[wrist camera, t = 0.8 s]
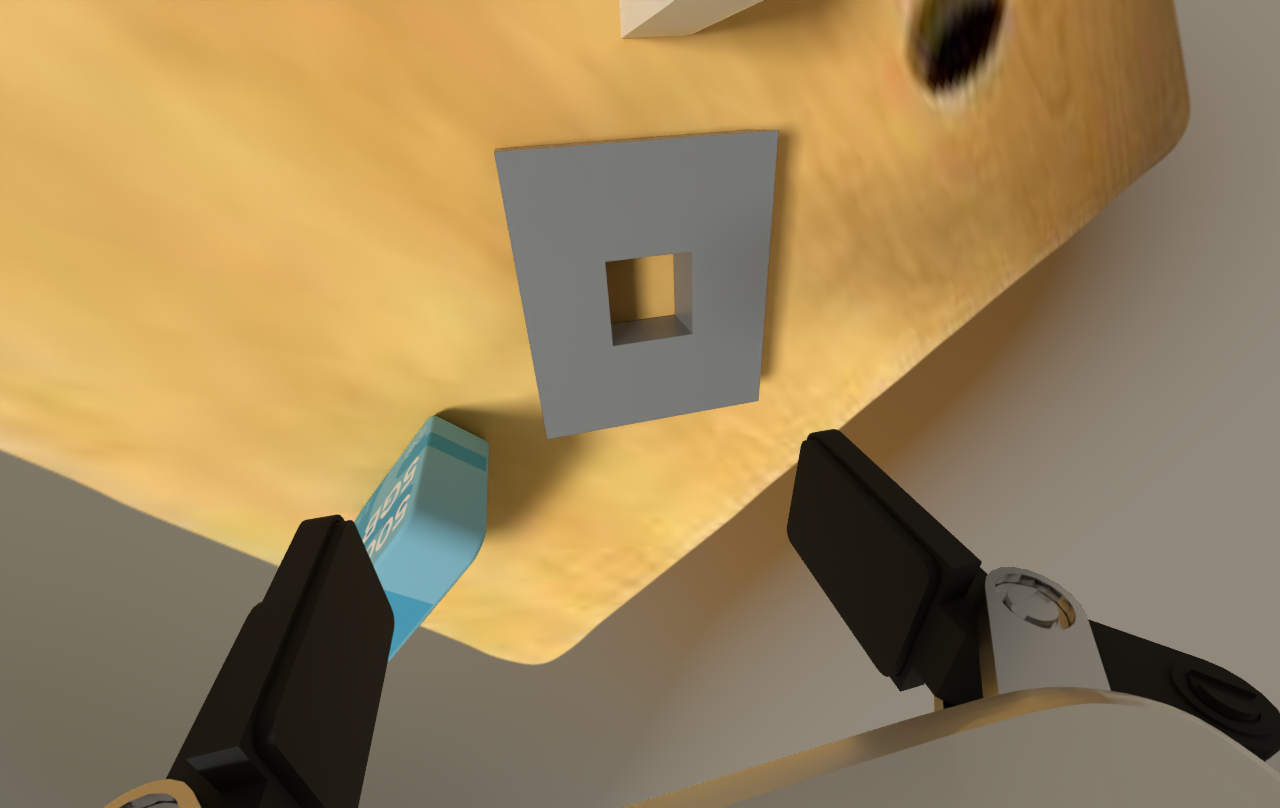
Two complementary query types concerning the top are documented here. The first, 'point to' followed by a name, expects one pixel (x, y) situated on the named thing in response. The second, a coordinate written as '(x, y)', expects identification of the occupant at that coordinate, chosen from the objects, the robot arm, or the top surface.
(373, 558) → the data package
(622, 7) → the plug
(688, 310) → the socket plate
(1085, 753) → the robot arm
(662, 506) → the top surface
